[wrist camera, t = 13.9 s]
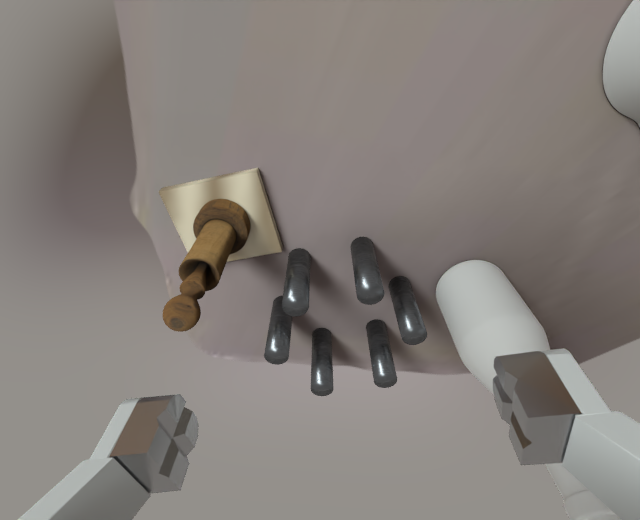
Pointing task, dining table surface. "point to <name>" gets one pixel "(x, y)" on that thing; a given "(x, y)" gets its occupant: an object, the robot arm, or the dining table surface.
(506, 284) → the wine bottle
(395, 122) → the dining table surface
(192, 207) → the birch board
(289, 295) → the capsules
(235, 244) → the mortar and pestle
